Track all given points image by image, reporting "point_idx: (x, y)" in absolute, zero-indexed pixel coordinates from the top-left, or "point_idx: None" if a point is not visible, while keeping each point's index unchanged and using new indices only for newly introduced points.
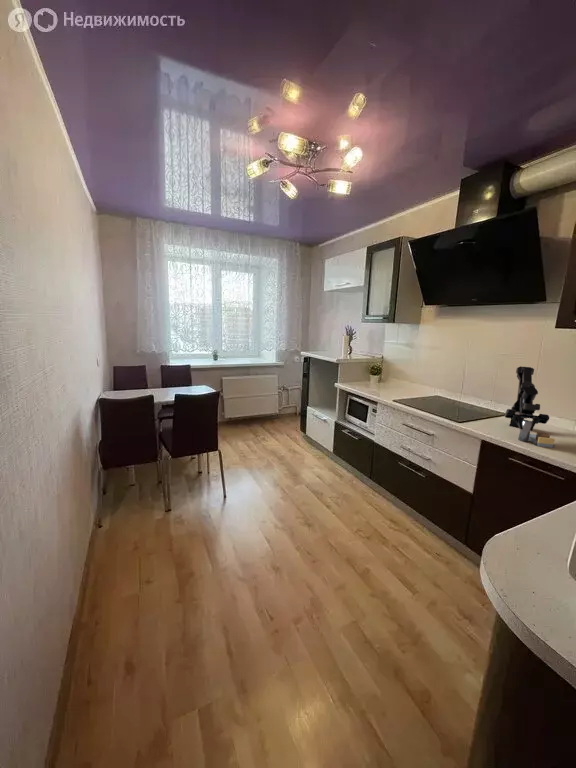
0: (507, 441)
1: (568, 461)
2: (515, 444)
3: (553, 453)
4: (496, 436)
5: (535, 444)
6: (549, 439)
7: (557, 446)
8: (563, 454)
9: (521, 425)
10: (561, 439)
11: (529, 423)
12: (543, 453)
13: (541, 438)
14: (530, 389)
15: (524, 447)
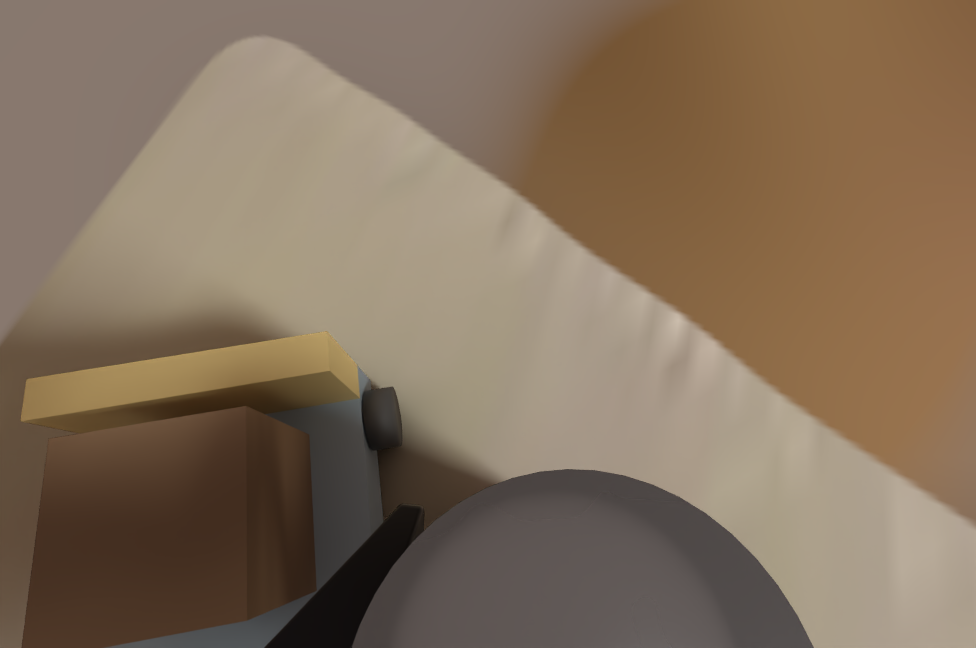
0: (773, 403)
1: (228, 46)
2: (673, 319)
3: (269, 204)
4: (948, 606)
5: (393, 392)
6: (144, 370)
7: (8, 561)
8: (149, 225)
9: None
10: None
11: (528, 479)
12: (401, 151)
13: (294, 342)
14: None
15: (574, 253)
